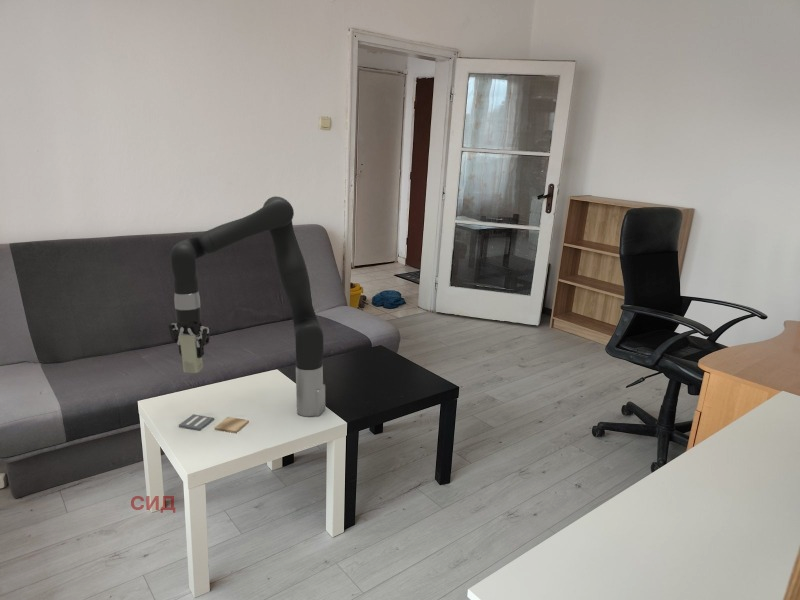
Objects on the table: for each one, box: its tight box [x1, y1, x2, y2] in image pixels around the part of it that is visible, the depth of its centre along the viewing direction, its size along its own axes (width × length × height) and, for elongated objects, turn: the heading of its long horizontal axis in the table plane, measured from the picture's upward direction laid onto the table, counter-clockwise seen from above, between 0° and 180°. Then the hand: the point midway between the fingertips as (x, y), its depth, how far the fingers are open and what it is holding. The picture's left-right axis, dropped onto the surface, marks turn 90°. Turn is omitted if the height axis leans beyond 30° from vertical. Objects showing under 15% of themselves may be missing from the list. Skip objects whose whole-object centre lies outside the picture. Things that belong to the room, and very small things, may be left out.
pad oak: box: [213, 416, 250, 434], centre depth 185 cm, size 8×8×1 cm
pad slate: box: [178, 414, 215, 432], centre depth 186 cm, size 8×8×1 cm
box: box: [179, 334, 204, 374], centre depth 180 cm, size 5×4×13 cm
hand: (191, 355), depth 180 cm, fingers closed on box, 5 cm apart
